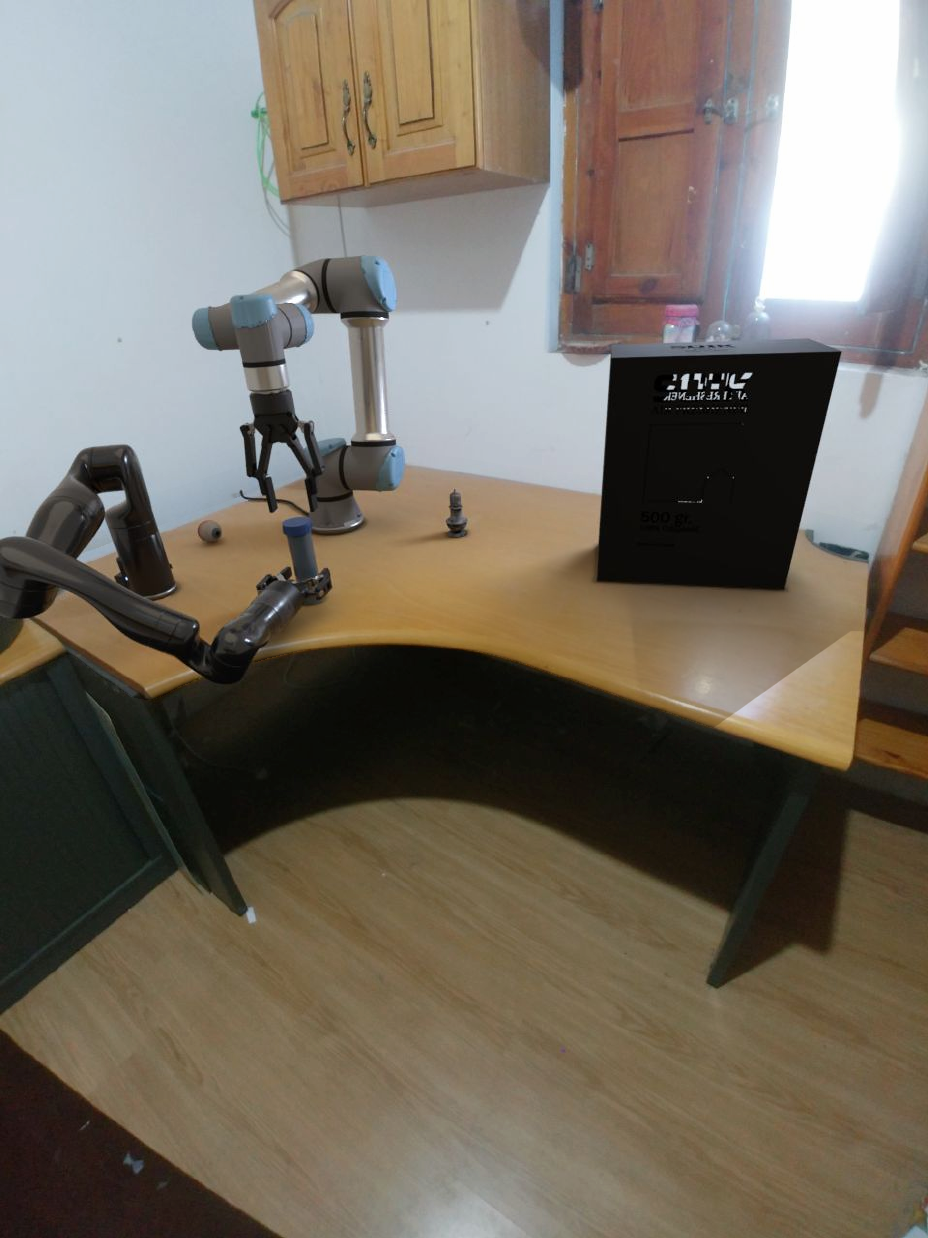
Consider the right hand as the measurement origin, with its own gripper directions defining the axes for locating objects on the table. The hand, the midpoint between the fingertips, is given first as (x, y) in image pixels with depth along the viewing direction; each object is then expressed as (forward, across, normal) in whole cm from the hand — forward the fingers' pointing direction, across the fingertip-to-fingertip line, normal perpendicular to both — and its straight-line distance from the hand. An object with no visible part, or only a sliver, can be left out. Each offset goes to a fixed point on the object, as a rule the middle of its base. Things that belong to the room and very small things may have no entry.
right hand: (293, 509), depth 121 cm
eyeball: (+20, +38, -33) cm, 54 cm away
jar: (+20, 0, 0) cm, 20 cm away
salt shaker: (+20, -28, -36) cm, 50 cm away
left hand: (+14, 0, -1) cm, 14 cm away
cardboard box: (+20, -82, -15) cm, 85 cm away
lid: (+3, 0, 0) cm, 3 cm away
